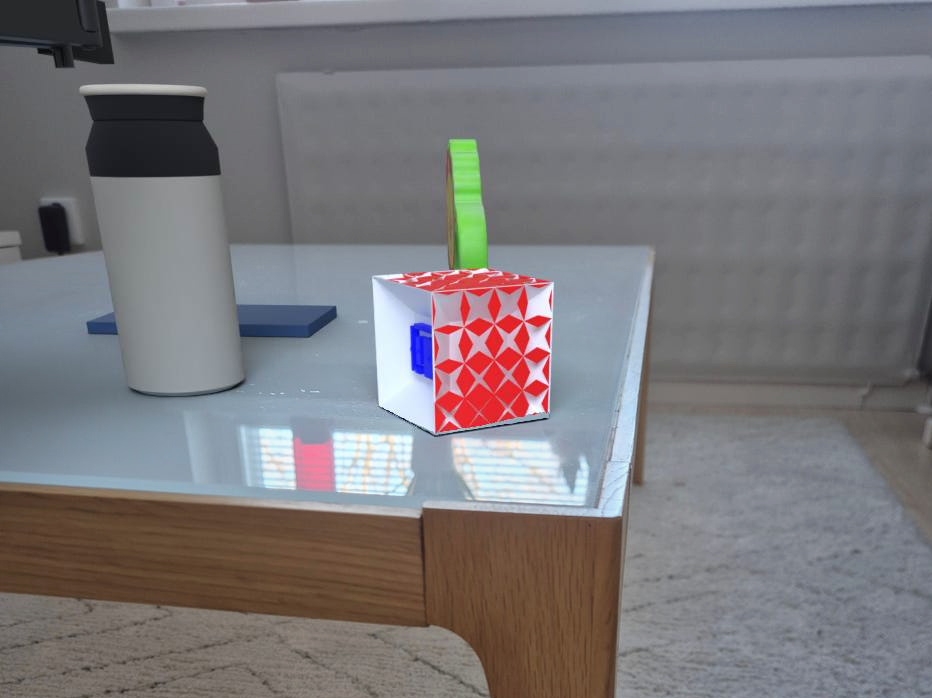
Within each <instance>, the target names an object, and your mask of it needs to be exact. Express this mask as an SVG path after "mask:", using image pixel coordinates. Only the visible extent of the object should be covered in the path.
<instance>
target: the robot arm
mask: <svg viewBox="0 0 932 698" xmlns="http://www.w3.org/2000/svg"><path fill="white" fill-rule="evenodd" d="M107 13H108V12H107V7H106V2H105V1H102V0H0V47H11V48H12V47H14V48H28V49H29V48H31V49H32V48H33V49H36V51H37V54H38V55H43V56H49V57H53V61H54V67H55V68H54V69H75V68H76V67H75V66H76V65H75V61H77V62H79V61H80V62H85V63H90V64H96V65H115V57H114V52H113V46H112V39H111V32H110V26H109V19H108V15H107Z"/></svg>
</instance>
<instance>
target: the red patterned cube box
mask: <svg viewBox="0 0 932 698" xmlns="http://www.w3.org/2000/svg"><path fill="white" fill-rule="evenodd" d="M371 281H372V300H373V301H372V302H373V319H374V320H373V324H374V339H375V361H376V380H377V399H378V407H379V406H380V407H383V408H384V409H386V410H389V411H390V412H393V413H394V414H396V415H398V416H400V417H402V418H405V419H406V420H409V421H410V422H413V423H415V424H417V425H419V426H422V427H424V428H426V429H428V430H430V431H433V432H434V433H437V432H438V433H439V432H443V431H450V430H457V429H460V428H470V427H476V426H482V425H486V424H490V423H491V424H492V423H495V422H498V421H499V422H501V421H504V420H507V419H513V418H516V417H515V416H517V417H524V416H525V415H528V414H532V415H535V414H538V413H539V412H541V413H542V412H545V413H547V412H549V413H550V412H551V411H550V410H551V408H550V407H551V380H552V377H551V376H552V347H553V323H554V321H553V320H554V319H553V318H554V289H555V288H554V287H555V282H554V281H550V280H545V279H542V278H541V279H540V278H536V277H532V276H527V275H521V274H518V273H517V274H516V273H511V272H507V271H501V270H498V269H494V268H493V269H492V268H489V267H488V268H478V269H463V270H450V271H449V270H441V271H440V270H439V271H422V272H421V271H420V272H407V273H395V274H394V273H393V274H381V275H380V274H378V275H371ZM380 407H379V408H380ZM384 409H383V410H384ZM386 410H385V411H386ZM390 412H389V413H390ZM394 414H393V415H394ZM396 415H395V416H396ZM532 415H531V416H532ZM398 416H397V417H398Z"/></svg>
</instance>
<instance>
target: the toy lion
mask: <svg viewBox="0 0 932 698" xmlns="http://www.w3.org/2000/svg"><path fill="white" fill-rule="evenodd" d="M480 166H481V165H480V156H479V152H478V144H477V140H476V139H474V138H466V139H465V138H453V139H452V138H451V139H449V140H448V144H447V146H446V159H445V189H444V190H445V193H444V195H445V229H446V245H447V246H446V247H447V263H448V271H450V270H463V269H478V268H488V269H489V252H488V251H489V250H488V233H487V221H486V220H487V219H486V212H485V208H484V203H483V198H482V197H483V195H482V193H483V192H482V180H481V178H482V177H481V167H480Z"/></svg>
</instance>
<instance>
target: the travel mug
mask: <svg viewBox="0 0 932 698" xmlns="http://www.w3.org/2000/svg"><path fill="white" fill-rule="evenodd" d="M78 93H79V94H80V95H81V96H83V98H84V100H85V102H86V105H87V108H88V111H89V112H88V113H89V116H90V119H91V120H92V124H91V128H90V130H89V135H88V138H87V141H86V144H85V147H84V149H85V155H86V160H87V161H86V162H87V167H88V173H89V176H90V177H89V179H90V183H91V189H92V196H93V200H94V201H93V202H94V206H95V212H96V218H97V223H98V230H99V234H100V241H101V246H102V247H101V248H102V252H103V257H104V264H105V269H106V275H107V279H108V280H107V281H108V285H109V286H108V287H109V292H110V297H111V303H112V309H113V312H114V315H115V320H116V326H117V332H118V334H117V337H118V342H119V349H120V353H121V354H120V355H121V360H122V365H123V366H122V367H123V370H124V376H125V377H124V378H125V383H126V386H128V387H129V388H131V389H132V390H135V391H137V392H140V393H142V394H144V395H149V396H157V397H190V396H199V395H209V394H215V393H220V392H222V391H226V390H229V389H231V388H233V387H235V386H237V385H238V384H239V383H240V382H242V381H244V379H245V376H246V374H245V367H244V358H243V357H244V356H243V351H242V350H243V349H242V341H241V340H242V339H241V336H240V331H239V323H238V314H237V306H236V304H237V297H236V290H235V289H236V288H235V280H234V273H233V264H232V255H231V247H230V239H229V229H228V222H227V221H228V220H227V212H226V204H225V197H224V188H223V180H222V171H221V162H220V154H219V147H218V146H217V145H218V144H216V142H215V140H214V138H213V137H212V135H211V133H210V131H209V130H208V128H207V126H206V125H205V123H204V121H205V98H206V97H208V94H209V93H208V90H207V88H206V87H203V86H199V85H182V84H157V83H104V84H101V83H100V84H84V85H81V86H80V87H79V89H78Z"/></svg>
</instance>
